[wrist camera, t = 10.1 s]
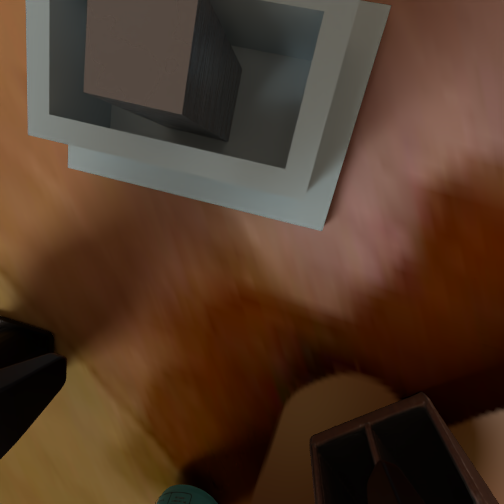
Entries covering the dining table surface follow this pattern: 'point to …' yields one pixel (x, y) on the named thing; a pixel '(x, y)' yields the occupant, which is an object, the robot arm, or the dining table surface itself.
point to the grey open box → (245, 115)
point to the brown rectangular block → (163, 63)
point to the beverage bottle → (185, 496)
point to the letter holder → (395, 456)
